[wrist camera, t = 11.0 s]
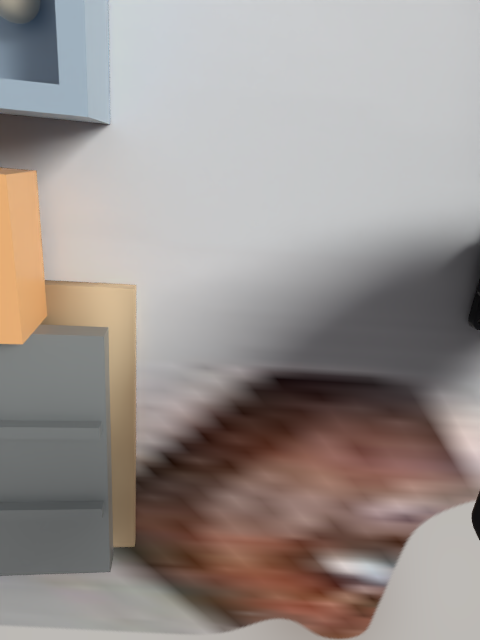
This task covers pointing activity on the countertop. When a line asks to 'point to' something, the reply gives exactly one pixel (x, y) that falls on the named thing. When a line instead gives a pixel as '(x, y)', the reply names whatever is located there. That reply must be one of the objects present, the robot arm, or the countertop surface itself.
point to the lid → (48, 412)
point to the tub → (55, 59)
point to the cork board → (120, 317)
